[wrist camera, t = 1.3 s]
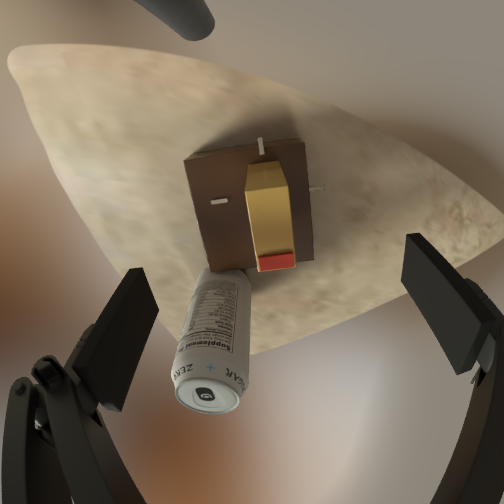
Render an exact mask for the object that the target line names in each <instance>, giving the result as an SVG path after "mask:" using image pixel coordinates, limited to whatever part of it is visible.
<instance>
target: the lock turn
mask: <svg viewBox="0 0 504 504" xmlns="http://www.w3.org/2000/svg"><path fill="white" fill-rule="evenodd" d="M245 196H246V202H247V208H248V213H249V219H250V225H251V231H252V237H253V243H254V249H255V255H256V261H257V267H258V271H259V272H261V271H269V270H277V269H285V268H293V267H296V257H295V246H294V235H293V225H292V215H291V206H290V197H289V188H288V184H287V181H286V179H285V176H284V173H283V171H282V168H281V165H280V163H279V161H272V162H265V163H257V164H250V165H248V172H247V180H246V187H245Z"/></svg>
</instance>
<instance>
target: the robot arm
mask: <svg viewBox="0 0 504 504" xmlns="http://www.w3.org/2000/svg"><path fill="white" fill-rule="evenodd" d="M401 282H402V283H403V285H404V286H405V288H406V289H407V291H408V293H409V294H410V296H411V297H412V299H413V300H414V302H415V303H416V305H417V306H418V308H419V310H420V311H421V313H422V315H423V316H424V318H425V319H426V321H427V323H428V324H429V326H430V328H431V329H432V331H433V333H434V335H435V336H436V338H437V340H438V341H439V343H440V345H441V347H442V349H443V350H444V352H445V354H446V356H447V358H448V360H449V361H450V363H451V365H452V367H453V369H454V371H455V373H456V375H459V374H461V373H464V372H467V371H469V370H471V369H472V367H473V365H474V363H475V362H476V360H477V361H478V363H479V364H480V367H479V369H478V371H477V372H476V374H475V376H474V377H473V379H472V381H471V384H473V382H474V381H475V385H474V388H473V393H472V396H471V401H470V404H469V408H468V411H467V414H466V418H465V421H464V424H463V427H462V430H461V433H460V436H459V439H458V442H457V444H456V447H455V450H454V452H453V455H452V458H451V460H450V462H449V465H448V467H447V469H446V472H445V474H444V476H443V478H442V480H441V483H440V485H439V487H438V489H437V491H436V493H435V495H434V497H433V499H432V501H431V502H430V504H499V503H500V500H501V498H502V495H503V492H504V315H503V314H502V313H501V312H500V310H499V309H498V308H497V307H496V305H495V304H494V303H493V302H492V301H491V300H490V299H489V298H488V296H487V295H486V294H485V293H483V290H482V289H481V288H480V287H479V286H478V285H477V284H476V283H475V282H473V281H472V280H470V279H468V278H466V279H463V278H462V277H461V275H460V274H459V273H458V272H457V271H456V270H455V269H454V268H453V267H452V266H451V264H450V263H449V262H448V261H447V260H446V259H445V258H444V257H443V256H442V255H441V254H440V253H439V252H438V251H437V250H436V249H435V248H434V247H433V246H432V245H431V244H430V243H429V242H428V241H427V240H426V239H425V238H424V237H423V236H422V235H421V234H420V233H412V234H406V244H405V253H404V261H403V269H402V276H401ZM158 312H159V308H158V306H157V304H156V301H155V299H154V296H153V294H152V291H151V289H150V286H149V283H148V281H147V278H146V276H145V273H144V270H143V268H142V267H141V268H132V269H129V271H128V272H127V274H126V275H125V277H124V278H123V280H122V281H121V283H120V284H119V286H118V287H117V289H116V290H115V292H114V294H113V295H112V297H111V298H110V300H109V302H108V303H107V305H106V306H105V308H104V310H103V311H102V313H101V315H100V316H99V318H98V320H97V321H96V323H95V324H91V325H90V326H89V327H88V328H87V329H86V330H85V331H84V333H83V335H82V336H81V338H80V341H78V343H77V345H76V348H74V350H73V352H72V353H71V355H70V357H69V359H68V360H67V362H66V364H65V366H64V368H63V367H62V366H61V364H60V363H59V362H58V361H57V359H56V357H54V356H52V355H47V356H44V357H42V358H41V359H39V360H38V361H37V362H36V363H35V364H34V366H33V368H32V372H31V374H32V375H33V377H34V378H35V379H36V380H37V382H38V383H39V384H35V385H34V384H33V383H32V382H31V380H30V379H29V378H27V377H21V378H19V379H17V380H16V381H15V382H14V383H13V385H12V386H11V389H10V394H9V399H8V405H7V411H6V418H5V427H4V437H3V448H2V450H3V451H2V475H1V476H2V504H72V498H73V501H74V503H75V504H147V503H146V502H145V500H144V498H143V497H142V495H141V493H140V492H139V490H138V488H137V487H136V485H135V483H134V481H133V480H132V478H131V476H130V474H129V473H128V471H127V469H126V467H125V465H124V463H123V461H122V459H121V457H120V455H119V453H118V451H117V449H116V447H115V445H114V443H113V441H112V439H111V437H110V434H109V432H108V430H107V428H106V425H105V423H104V421H103V418H102V416H101V413H100V412H99V411H98V409H97V406H98V403H99V402H100V403H101V405H102V406H103V407H104V408H105V409H106V410H111V411H117V412H121V411H122V408H123V405H124V402H125V399H126V396H127V393H128V390H129V387H130V385H131V382H132V379H133V376H134V374H135V371H136V368H137V365H138V363H139V360H140V357H141V355H142V352H143V349H144V347H145V344H146V342H147V339H148V337H149V334H150V331H151V329H152V327H153V324H154V321H155V319H156V317H157V314H158ZM35 422H36V423H37V424H38V429H36V428H35ZM71 496H72V498H71Z"/></svg>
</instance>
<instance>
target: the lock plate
mask: <svg viewBox="0 0 504 504" xmlns="http://www.w3.org/2000/svg"><path fill="white" fill-rule="evenodd" d="M272 161H279V163H280V165H281V168H282V171H283V173H284V176H285V179H286V181H287V184H288V188H289V197H290V206H291V215H292V225H293V235H294V246H295V257H296V262H302V261H310V260H314V250H313V233H312V219H311V206H310V193H309V191H318V190H325V185H323V186H314V187H309V182H308V172H307V162H306V152H305V144H304V142H303V141H302V140H300V139H289V140H280V141H272V142H264V143H263V140H262V137H260V138H258V143H257V144H250V145H243V146H237V147H230V148H224V149H219V150H213V151H208V152H202V153H197V154H192V155H190V156H189V157H188V158H187V159H185V160H184V166H185V170H186V175H187V179H188V184H189V188H190V192H191V197H192V201H193V205H194V210H195V214H196V218H197V222H198V226H199V230H200V234H201V238H202V242H203V246H204V250H205V254H206V258H207V262H208V266H209V269H210V273H211V272H220V271H229V270H237V269H246V268H254V267H257V261H256V255H255V249H254V243H253V237H252V231H251V225H250V219H249V213H248V208H247V202H246V196H245V187H246V180H247V172H248V165H250V164H257V163H265V162H272Z"/></svg>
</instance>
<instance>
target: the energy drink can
mask: <svg viewBox="0 0 504 504" xmlns="http://www.w3.org/2000/svg"><path fill="white" fill-rule="evenodd" d="M250 317H251V284H250V281H249V279H248V277H247V276H246V275H245V274H244V273H243V272H242V271H240V270H239V269H237V270H229V271H220V272H211V273H210V269H209V268H207V269H205V270H204V271H202V273H201V274H200V275H199V277H198V278H197V281H196V285H195V288H194V292H193V295H192V298H191V302H190V305H189V309H188V312H187V316H186V319H185V323H184V326H183V330H182V333H181V337H180V341H179V344H178V348H177V352H176V356H175V359H174V363H173V367H172V371H171V377H172V380H173V383H174V385H175V387H176V388H175V396H176V398H177V400H178V401H179V402H180V403H181V404H182V405H184V406H186V407H187V408H189V409H191V410H194V411H197V412H202V413H207V414H221V413H226V412H230V411H232V410H233V409H235V408H236V407H237V406H238V405H239V402H240V397H241V396H242V395H243V394H244V392H245V391H246V389H247V387H248V384H249V353H250Z"/></svg>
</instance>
